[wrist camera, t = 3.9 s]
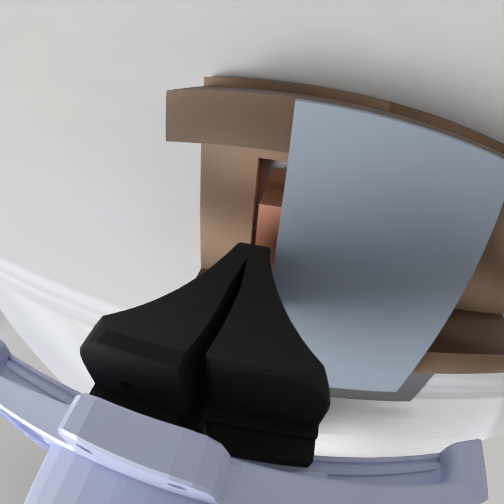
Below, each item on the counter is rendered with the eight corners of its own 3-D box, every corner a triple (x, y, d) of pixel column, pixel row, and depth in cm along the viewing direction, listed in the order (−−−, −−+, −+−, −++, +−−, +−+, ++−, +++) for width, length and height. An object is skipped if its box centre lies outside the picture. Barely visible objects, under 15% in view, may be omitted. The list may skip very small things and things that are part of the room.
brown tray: (483, 328, 19) (502, 376, 14) (206, 288, 21) (181, 342, 17) (555, 173, 11) (601, 207, 7) (210, 76, 13) (166, 77, 9)
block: (338, 251, 18) (344, 307, 14) (265, 239, 18) (250, 291, 14) (355, 181, 15) (371, 222, 11) (273, 167, 16) (259, 203, 12)
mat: (409, 396, 25) (410, 401, 24) (327, 391, 26) (327, 396, 25) (454, 339, 20) (456, 344, 19) (359, 329, 21) (359, 335, 20)
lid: (393, 375, 15) (396, 392, 14) (259, 358, 16) (255, 376, 15) (498, 155, 8) (514, 165, 7) (296, 98, 9) (295, 100, 8)
